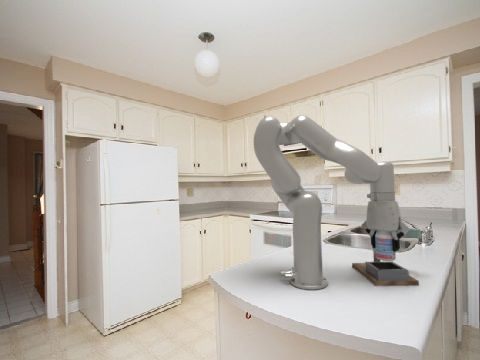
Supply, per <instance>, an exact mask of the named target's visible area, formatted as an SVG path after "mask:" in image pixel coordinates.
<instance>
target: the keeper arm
mask: <svg viewBox="0 0 480 360" xmlns="http://www.w3.org/2000/svg"><path fill="white" fill-rule="evenodd" d="M408 228H409V229H410V231H408V232H407V233H406V234H405V235H404V236H402V237H403V238H413V239H421V238H422V232H421V231H422V230H421V228H414V227H413V228H412V227H408ZM402 230H403V229H402V228H401V229H400V230H398V232H399V233H400V232H401V231H402ZM377 233H378V231H377ZM402 237H401V238H402Z"/></svg>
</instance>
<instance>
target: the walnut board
mask: <svg viewBox="0 0 480 360" xmlns="http://www.w3.org/2000/svg"><path fill="white" fill-rule="evenodd" d="M351 267H352V268H353V269H354V270H355V271H356V272H358V273H359V274H360V275H361V276H362V277H364V278H365V279H366V280H367V281H368V282H370V283H371V284H372V285H373V286H376V287H391V286H392V287H404V286H408V287H409V286H414V287H415V286H420V282H419V281H420V280H418V279H416V278H415V277H413V276H411V275H409V274H408V281H378V280H376V279H375V278H374V277H372V276H371V275H370V274H368V273H367V272H366V263H365V262H352V263H351Z"/></svg>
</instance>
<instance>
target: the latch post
mask: <svg viewBox="0 0 480 360" xmlns="http://www.w3.org/2000/svg"><path fill="white" fill-rule="evenodd" d="M372 252H373V254H372V255H373V256H372V257H373V262H381V260H379V259H377V258H376V248H372Z"/></svg>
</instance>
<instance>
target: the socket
mask: <svg viewBox="0 0 480 360" xmlns="http://www.w3.org/2000/svg"><path fill="white" fill-rule="evenodd" d="M364 263H366V272H367V273H368V274H370V275H371V276H372V277H374V278H375V279H376V280H378V281H408V275H409V270H408V269H407V268H405V267H403V266H401V265H400V264H398V263H396V262H394V261H380V262H374V261H365V262H364Z"/></svg>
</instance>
